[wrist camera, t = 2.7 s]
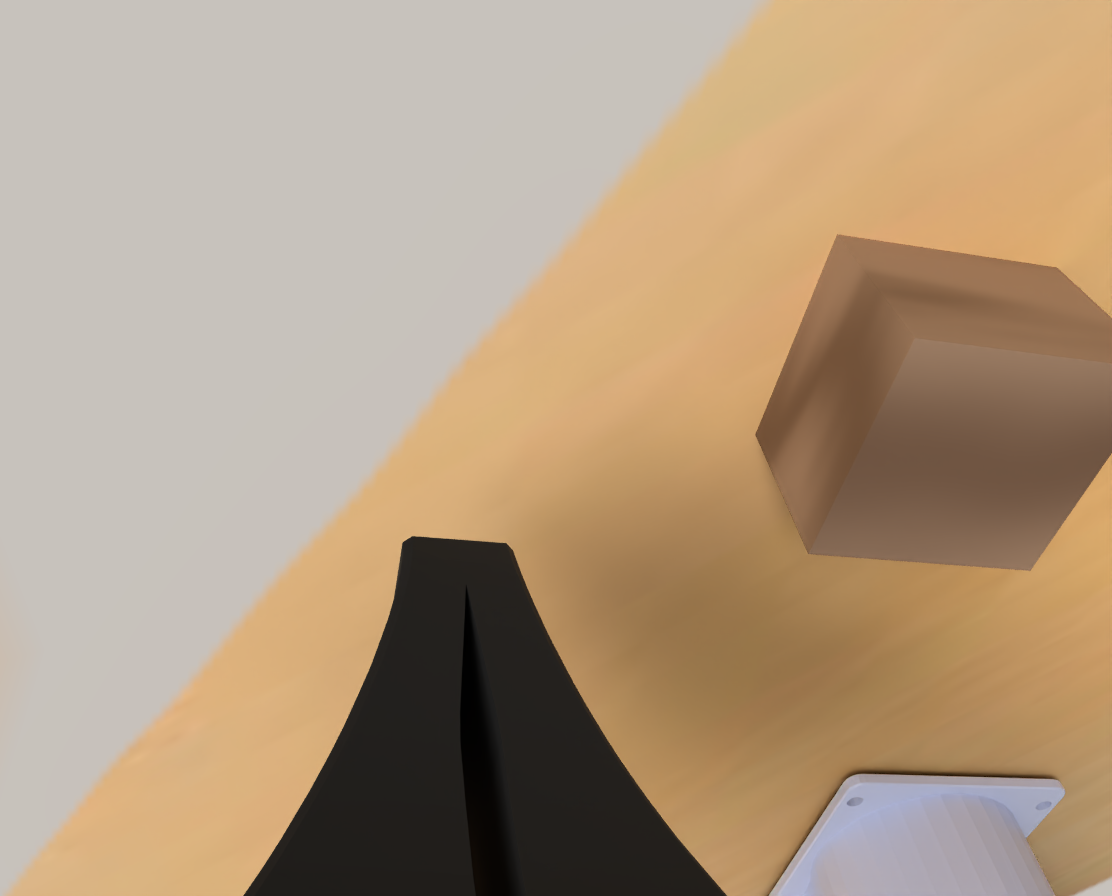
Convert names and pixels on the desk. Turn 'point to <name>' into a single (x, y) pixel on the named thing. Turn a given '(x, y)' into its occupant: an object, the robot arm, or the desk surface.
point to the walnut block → (939, 407)
